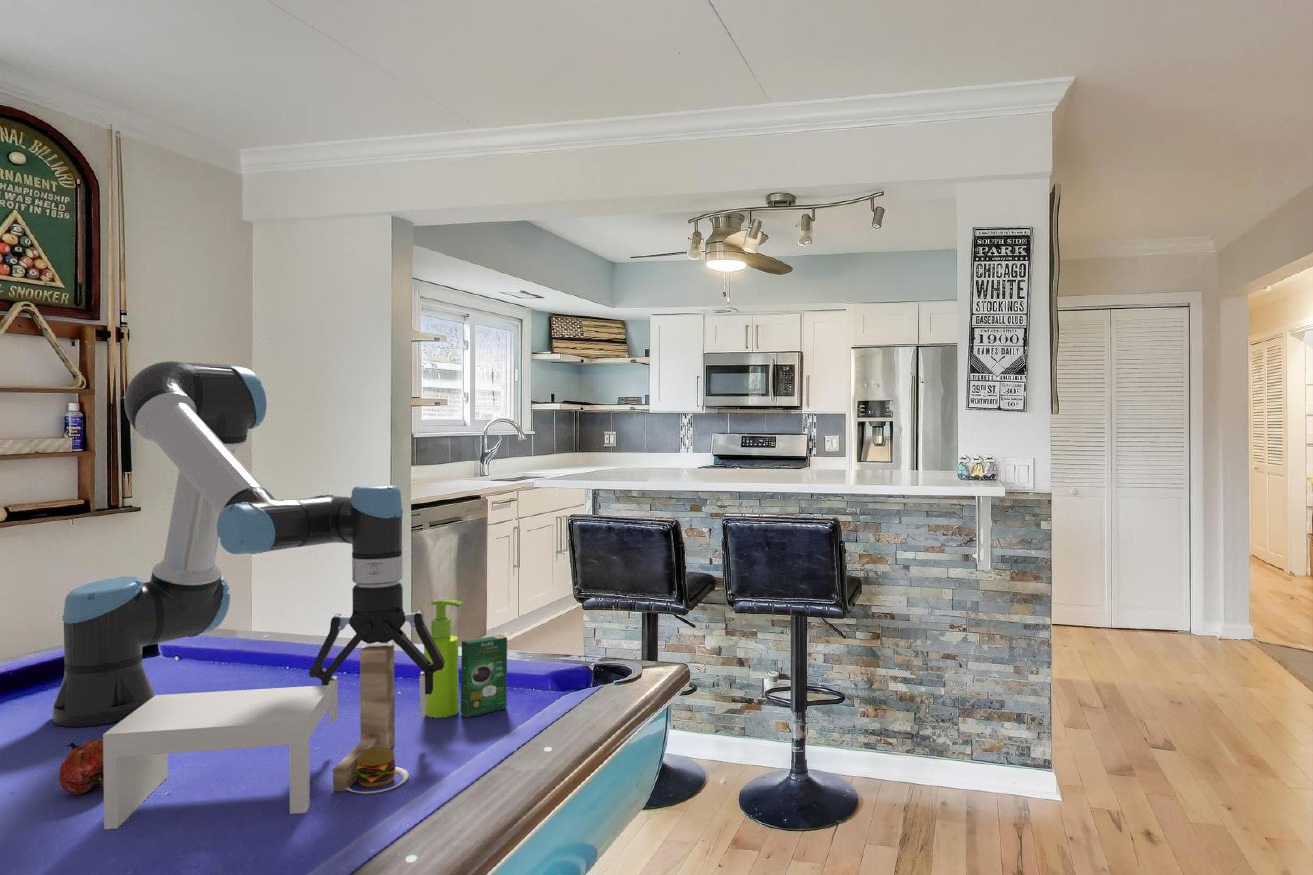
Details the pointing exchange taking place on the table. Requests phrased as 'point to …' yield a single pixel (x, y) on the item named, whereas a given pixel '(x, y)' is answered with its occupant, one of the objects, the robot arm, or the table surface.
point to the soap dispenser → (444, 680)
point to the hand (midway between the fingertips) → (378, 717)
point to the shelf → (208, 738)
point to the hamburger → (377, 768)
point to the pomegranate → (83, 767)
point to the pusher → (371, 709)
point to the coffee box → (483, 675)
